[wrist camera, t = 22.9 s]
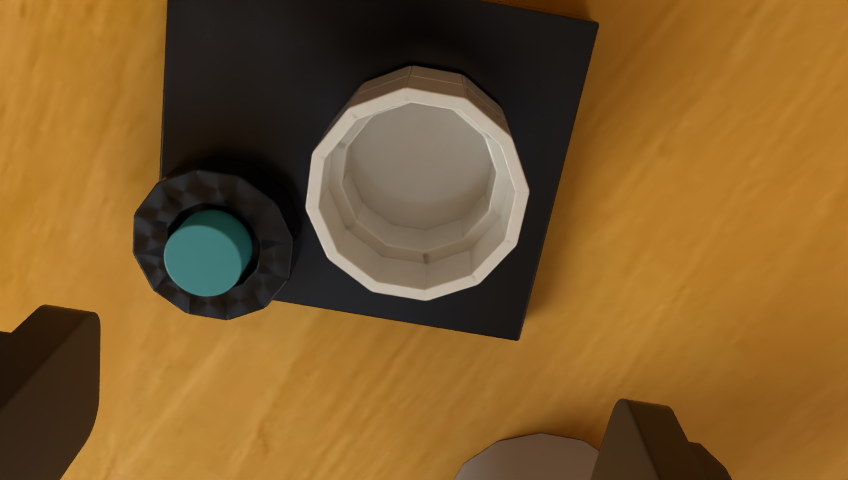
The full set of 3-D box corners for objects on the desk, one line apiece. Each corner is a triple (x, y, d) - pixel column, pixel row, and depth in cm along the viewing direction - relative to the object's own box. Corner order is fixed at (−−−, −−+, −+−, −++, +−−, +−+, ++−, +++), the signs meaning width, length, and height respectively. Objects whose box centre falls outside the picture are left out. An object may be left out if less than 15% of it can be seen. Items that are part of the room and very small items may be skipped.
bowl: (318, 227, 27) (295, 279, 23) (342, 49, 25) (321, 72, 21) (492, 257, 28) (500, 314, 23) (531, 84, 25) (548, 113, 21)
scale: (159, 270, 30) (130, 305, 27) (175, -59, 25) (142, -60, 22) (514, 330, 30) (521, 370, 27) (592, 18, 26) (610, 28, 23)
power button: (176, 271, 27) (161, 290, 25) (180, 202, 26) (164, 218, 24) (249, 283, 27) (238, 303, 25) (256, 216, 26) (244, 232, 24)
